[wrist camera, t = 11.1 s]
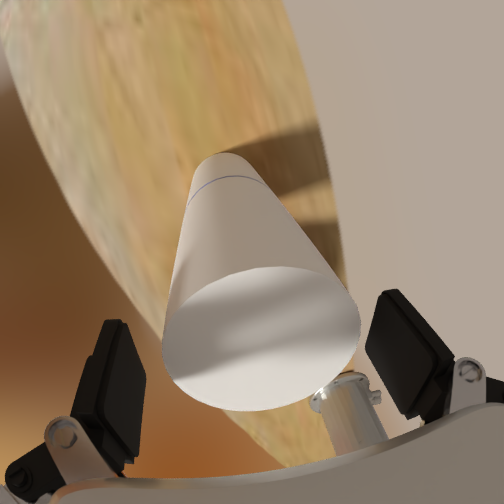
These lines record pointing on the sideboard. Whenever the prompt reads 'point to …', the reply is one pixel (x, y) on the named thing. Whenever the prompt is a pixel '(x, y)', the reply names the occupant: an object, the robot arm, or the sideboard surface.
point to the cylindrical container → (251, 298)
